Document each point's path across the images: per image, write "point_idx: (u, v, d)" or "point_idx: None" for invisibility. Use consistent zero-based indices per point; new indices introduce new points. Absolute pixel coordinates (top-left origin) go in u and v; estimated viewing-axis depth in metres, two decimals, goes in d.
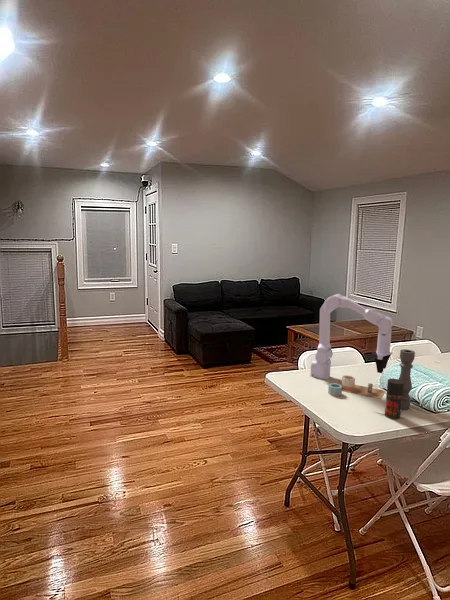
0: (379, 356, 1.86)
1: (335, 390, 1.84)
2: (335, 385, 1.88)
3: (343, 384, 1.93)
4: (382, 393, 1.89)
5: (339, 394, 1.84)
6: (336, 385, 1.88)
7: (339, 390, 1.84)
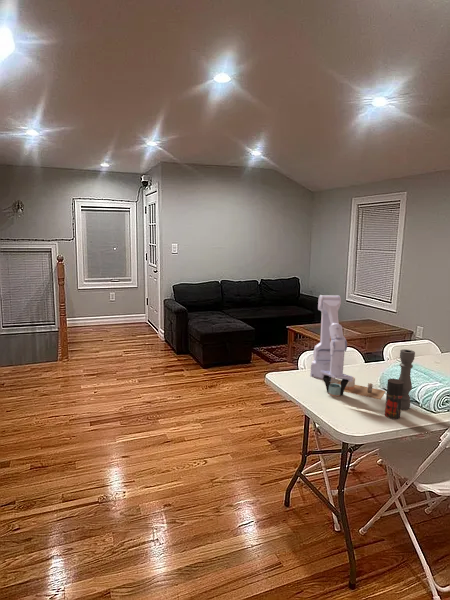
0: None
1: (335, 390, 1.84)
2: (335, 385, 1.88)
3: None
4: (382, 393, 1.89)
5: (339, 394, 1.84)
6: (336, 385, 1.88)
7: (339, 390, 1.84)
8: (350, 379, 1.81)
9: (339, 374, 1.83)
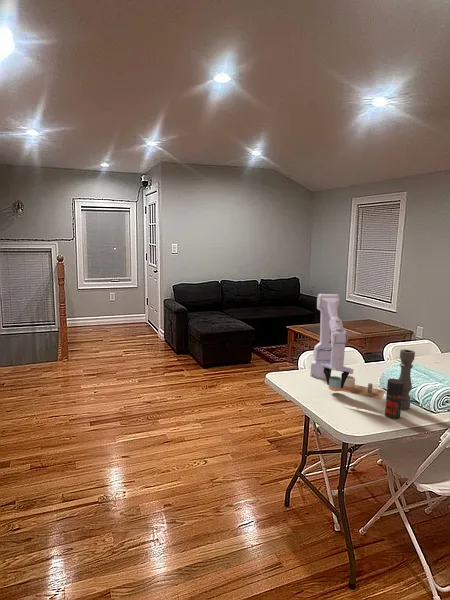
0: None
1: (336, 383, 1.83)
2: (336, 378, 1.88)
3: None
4: (382, 393, 1.89)
5: (340, 387, 1.84)
6: (337, 378, 1.88)
7: (340, 383, 1.84)
8: (351, 371, 1.81)
9: (340, 366, 1.82)
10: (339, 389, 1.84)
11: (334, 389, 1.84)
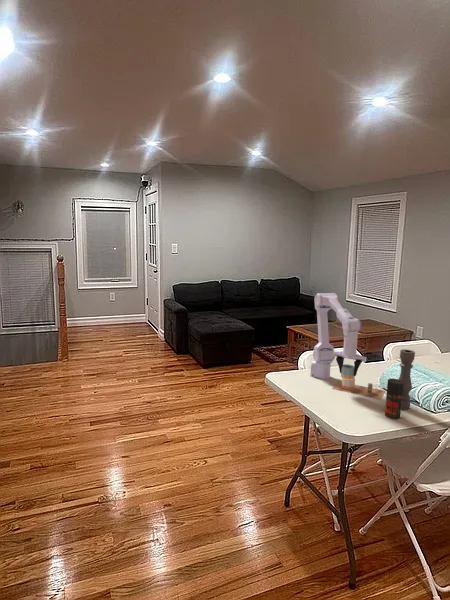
0: None
1: (348, 371, 1.83)
2: (348, 366, 1.88)
3: (343, 384, 1.93)
4: (382, 393, 1.89)
5: (352, 375, 1.84)
6: (349, 366, 1.88)
7: (352, 371, 1.83)
8: (363, 359, 1.81)
9: (352, 354, 1.82)
10: (352, 377, 1.84)
11: (347, 377, 1.84)
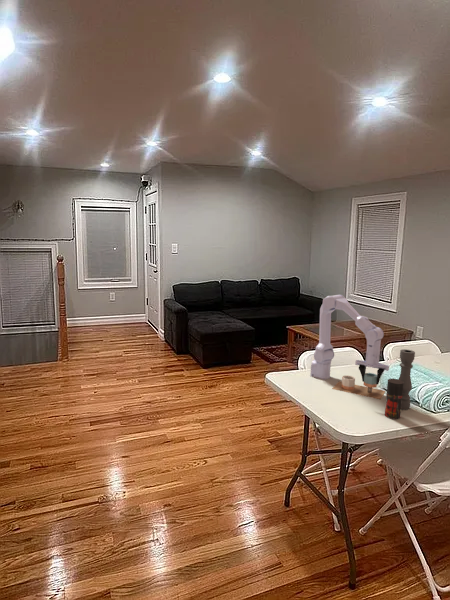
0: None
1: (371, 379, 1.86)
2: (370, 374, 1.90)
3: (343, 384, 1.93)
4: (382, 393, 1.89)
5: (375, 383, 1.86)
6: (371, 374, 1.90)
7: (375, 379, 1.86)
8: (387, 368, 1.83)
9: (375, 363, 1.85)
10: (374, 385, 1.86)
11: (370, 385, 1.86)
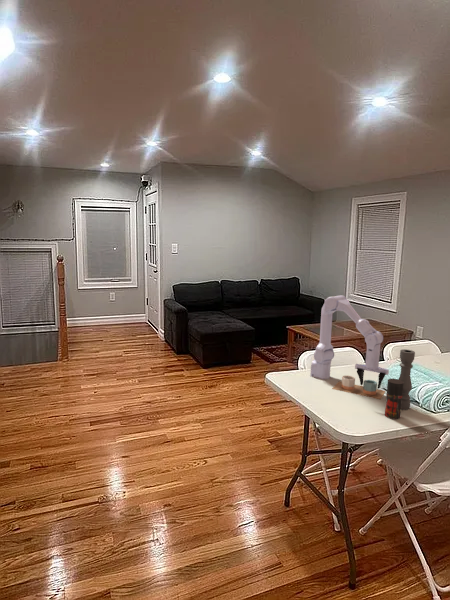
0: None
1: (370, 386, 1.86)
2: (370, 381, 1.91)
3: (343, 384, 1.93)
4: (382, 393, 1.89)
5: (374, 390, 1.87)
6: (371, 381, 1.91)
7: (374, 386, 1.86)
8: (386, 372, 1.84)
9: (375, 367, 1.85)
10: (374, 393, 1.87)
11: (369, 393, 1.87)
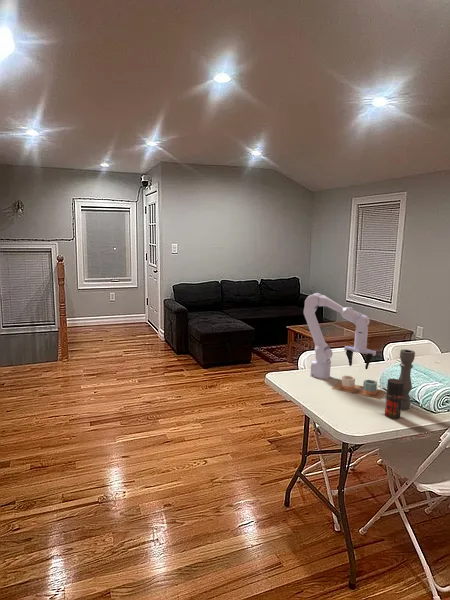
0: None
1: (370, 386, 1.86)
2: (370, 381, 1.91)
3: (343, 384, 1.93)
4: (382, 393, 1.89)
5: (374, 390, 1.87)
6: (371, 381, 1.91)
7: (374, 386, 1.86)
8: (373, 353, 1.94)
9: (363, 349, 1.95)
10: (374, 393, 1.87)
11: (369, 393, 1.87)
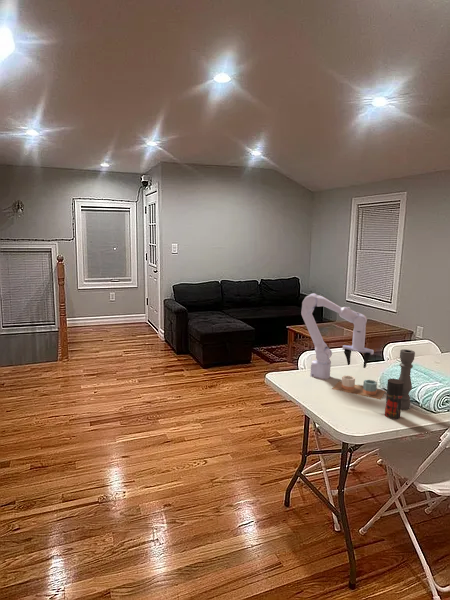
0: None
1: (370, 386, 1.86)
2: (370, 381, 1.91)
3: (343, 384, 1.93)
4: (382, 393, 1.89)
5: (374, 390, 1.87)
6: (371, 381, 1.91)
7: (374, 386, 1.86)
8: (371, 352, 1.96)
9: (361, 347, 1.97)
10: (374, 393, 1.87)
11: (369, 393, 1.87)
